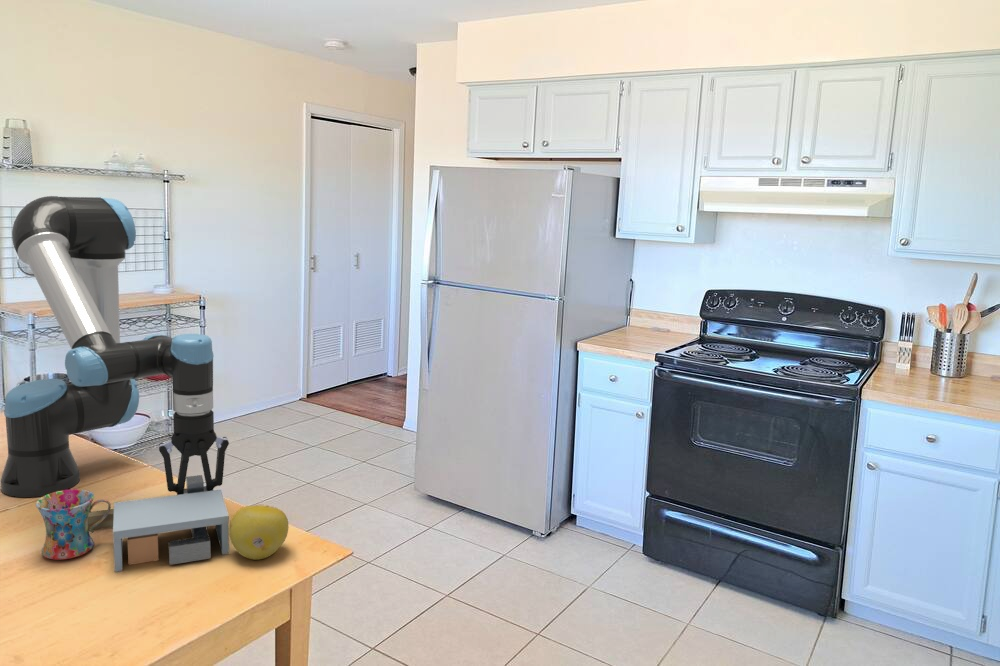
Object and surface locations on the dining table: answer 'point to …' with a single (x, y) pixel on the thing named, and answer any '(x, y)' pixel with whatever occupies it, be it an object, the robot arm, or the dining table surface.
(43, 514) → the mug
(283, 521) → the fruit
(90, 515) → the l-shaped tan bracket
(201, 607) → the dining table surface
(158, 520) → the grey u-shaped bridge
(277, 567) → the dining table surface
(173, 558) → the grey piece
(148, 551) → the block
